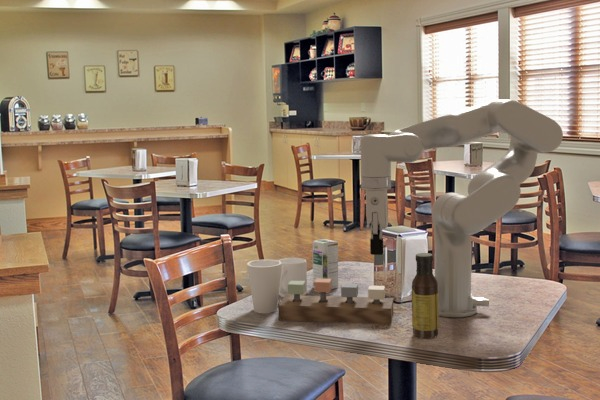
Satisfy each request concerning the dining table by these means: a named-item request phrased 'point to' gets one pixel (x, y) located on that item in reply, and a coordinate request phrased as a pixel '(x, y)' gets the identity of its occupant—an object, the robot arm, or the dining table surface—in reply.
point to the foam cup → (264, 284)
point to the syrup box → (325, 261)
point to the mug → (292, 274)
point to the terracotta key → (322, 287)
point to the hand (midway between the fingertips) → (376, 253)
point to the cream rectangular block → (376, 293)
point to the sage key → (296, 289)
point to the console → (336, 310)
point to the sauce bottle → (425, 299)
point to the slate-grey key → (349, 291)
